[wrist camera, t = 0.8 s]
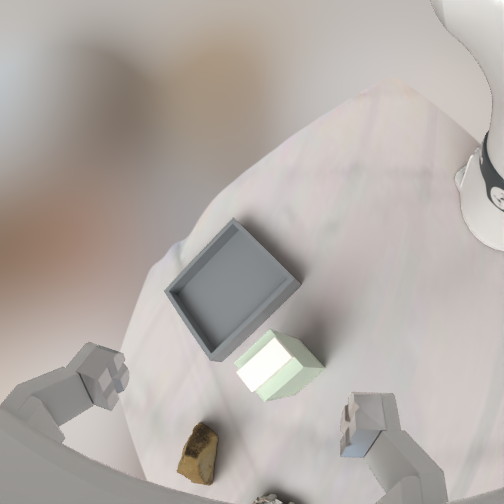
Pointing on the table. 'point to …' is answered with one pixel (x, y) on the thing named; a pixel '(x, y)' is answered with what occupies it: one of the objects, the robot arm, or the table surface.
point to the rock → (199, 455)
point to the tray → (229, 290)
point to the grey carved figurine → (269, 499)
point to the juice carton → (277, 366)
